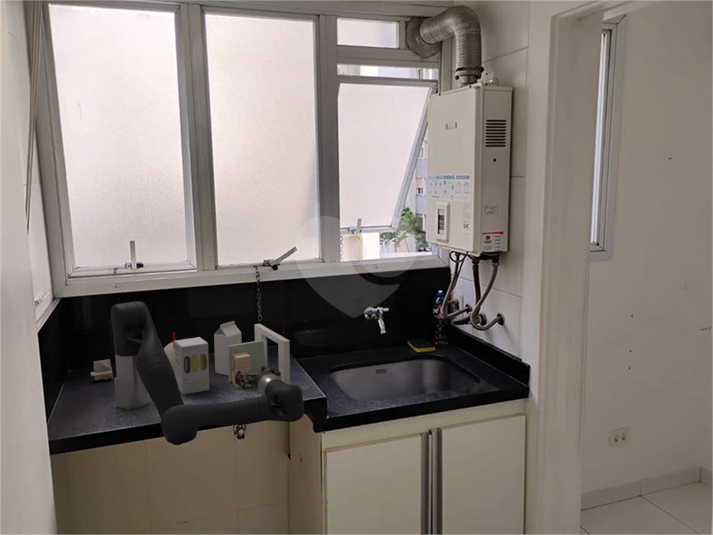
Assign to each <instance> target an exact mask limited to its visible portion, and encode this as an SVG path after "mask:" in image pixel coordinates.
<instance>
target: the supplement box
mask: <svg viewBox="0 0 713 535" xmlns="http://www.w3.org/2000/svg"><path fill="white" fill-rule="evenodd" d="M174 350H175V376H176V380H177V383H178V387H179V391H180V394H182V395H183V396H185V395H188V394H190V395H191V394H194V393H195V394H196V393H199V392H200V393H201V392H204V391H210V366H209V365H210V364H209V343H208V341H206V340H204V339H203V338H202V337H200V336H198V337H192V338H184V339H179V340H176V341H174Z"/></svg>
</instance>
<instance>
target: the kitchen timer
mask: <svg viewBox="0 0 713 535" xmlns="http://www.w3.org/2000/svg"><path fill="white" fill-rule="evenodd" d="M174 341H176V332H172V341H171V342H170V343H168V344H167V345H166V346H165V347H163V349H164V351H165V353H166V355H167V357H168V359H169V361H170V363H171V365H172V368H173V371H174V373H175V350H174Z"/></svg>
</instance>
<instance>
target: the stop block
mask: <svg viewBox="0 0 713 535" xmlns="http://www.w3.org/2000/svg"><path fill="white" fill-rule="evenodd" d="M239 370H240V371H241V372H242V373H243V374H247V373H251V358H250V355H249V354H247V353H246V352H243V353H237V354H232V379H233V381H232V385H233V386H234V387H235V388H236V387H237V388H236V389H237V390H239V389H242V388H241V387H240V386H239V385H238V384H236V383H235V375H236V372H237V371H239ZM250 377H251V376H249V378H250ZM243 378H245V376H243ZM246 386H249V387H251V386H250V385H249V384H246V385H245V387H244V388H247V387H246ZM238 388H239V389H238Z"/></svg>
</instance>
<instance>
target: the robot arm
mask: <svg viewBox="0 0 713 535" xmlns="http://www.w3.org/2000/svg"><path fill="white" fill-rule="evenodd" d="M110 319H111V327H112V335H113V336H112V337H113V345H114V356H115V370H116V371H115V372H116V377H114V378H113V380H114V381H113V383H114V397H115V407H118V408H121V409H125V410H132V409H137V408H141V407H144V406H146V405H148V404H149V403H150V399H151V401H152V403H153V405H154V406H155V408H156V410H157V412H158V415H159V418H160V427H161V431H162V434H163V436H164V439H165V440H166V442H168V443H169V444H173V445H182V444H186V443H190V442H192V441H193V440H195V439H196V437H197V435H198V431H199V430H198V429H199V428H202V427H205V426H211V425H229V426H247V425H251V424H252V425H253V424H256V423H261V422H266V421H267V422H270V421H272V422H287V423H290V422H291V423H293V422H297V421H299V420H300V419H302V418H303V417H304V415H305V404H304V395H303V390H302V388H301V387H300V386H299V385H297V384H296V383H295V384H293V383H290V384H286V383H284V382H283V381H282V380H281V372H279V369H277V368H276V367H273V368H270V367H269V368H268V369H267V368H266V367H264V366H261V372H259V373H254V374H253V373H247V374H243V373H242V372H241V371H240V370H239V371H237V372H236V375H235V383H236V384H238V385H239V386H240V387H242V388H243V389H244V388H246V387H245V385H246V384H249V385H251V387H253V389H254V391H256V392H257V393H258V394H259V395H261V396H256V397H255V396H254V397H251V398H246V399H245V398H244V399H240V400H235V401H227V402H226V401H224V402H216V403H201V404H200V403H199V404H198V403H197V404H185V403H184V400H183V398H182V396H181V392H180V391H179V387H178V383H177V380H176V376H175V373H174V371H173V368H172V365H171V363H170V361H169V359H168V357H167V355H166V353H165V351H164V347H163V345H162V342H161V340H160V338H159V336H158V333H157V330H156V327H155V324H154V321H153V319H152V316H151V313H150V310H149V308H148V306H147V305H146V303H145V302H144V301H130V302H123V303H117V304H114V305H112V308H111V310H110ZM136 331H140V332H141V334H142V339H136V338H132V337H128V334H127V333H131V332H136ZM243 376H245V378H243ZM249 376H251V377H250V378H249ZM242 388H241V389H242ZM272 404H273V405H275V406H277V407H279V408H276V407H273V406H272Z"/></svg>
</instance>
